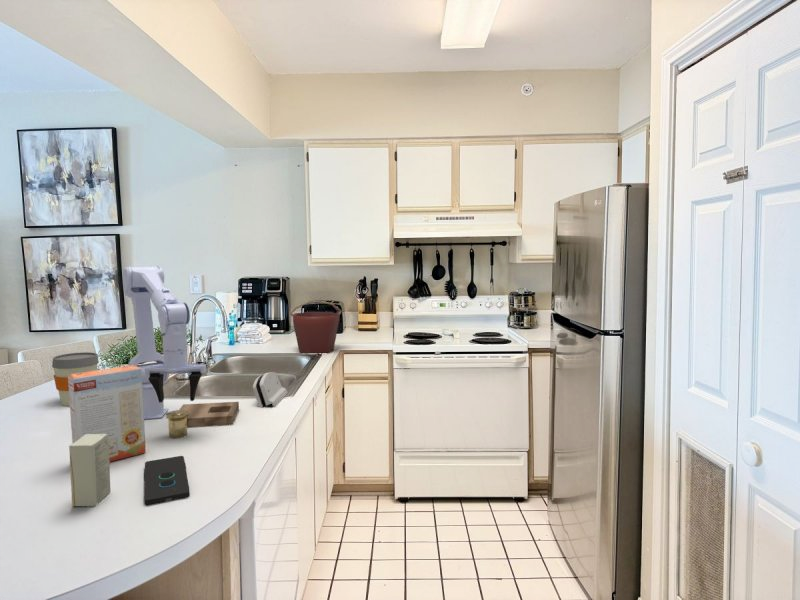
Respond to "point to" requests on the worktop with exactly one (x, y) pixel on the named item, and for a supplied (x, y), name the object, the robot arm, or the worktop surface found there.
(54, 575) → the worktop surface
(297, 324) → the bucket
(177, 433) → the bushing
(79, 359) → the reusable coffee cup
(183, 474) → the smart home device
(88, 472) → the skincare box
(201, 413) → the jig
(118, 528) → the worktop surface
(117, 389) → the cracker box
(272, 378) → the grey piece
